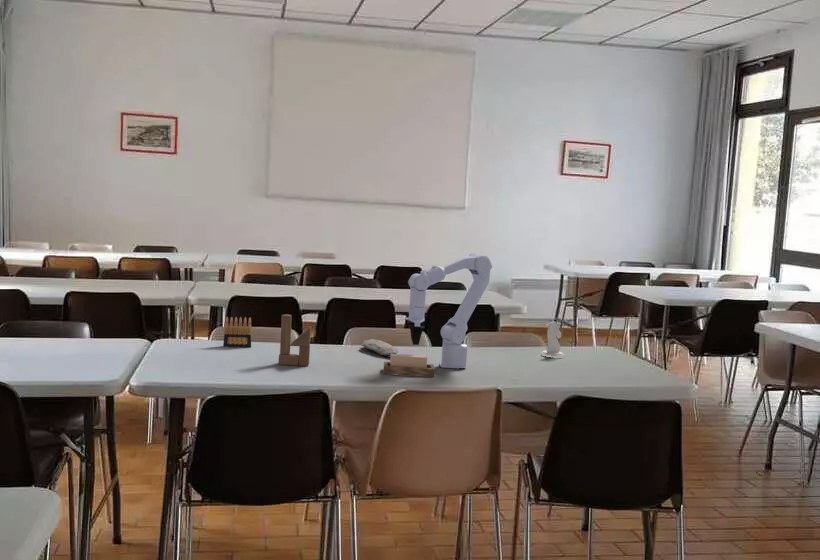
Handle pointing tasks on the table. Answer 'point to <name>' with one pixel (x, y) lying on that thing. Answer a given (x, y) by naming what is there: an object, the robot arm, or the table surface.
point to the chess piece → (553, 340)
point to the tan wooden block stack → (293, 344)
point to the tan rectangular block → (408, 360)
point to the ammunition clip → (237, 333)
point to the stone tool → (380, 347)
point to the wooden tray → (409, 370)
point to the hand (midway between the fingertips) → (415, 342)
